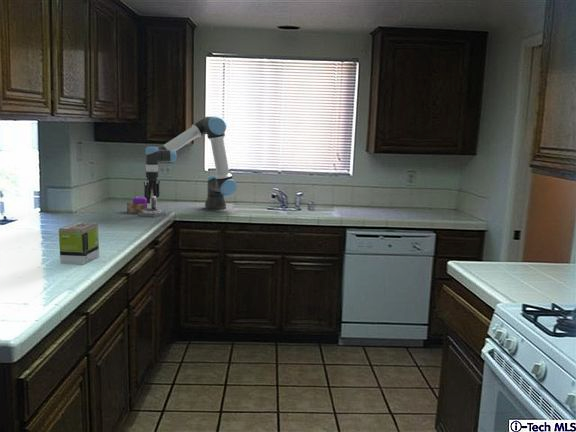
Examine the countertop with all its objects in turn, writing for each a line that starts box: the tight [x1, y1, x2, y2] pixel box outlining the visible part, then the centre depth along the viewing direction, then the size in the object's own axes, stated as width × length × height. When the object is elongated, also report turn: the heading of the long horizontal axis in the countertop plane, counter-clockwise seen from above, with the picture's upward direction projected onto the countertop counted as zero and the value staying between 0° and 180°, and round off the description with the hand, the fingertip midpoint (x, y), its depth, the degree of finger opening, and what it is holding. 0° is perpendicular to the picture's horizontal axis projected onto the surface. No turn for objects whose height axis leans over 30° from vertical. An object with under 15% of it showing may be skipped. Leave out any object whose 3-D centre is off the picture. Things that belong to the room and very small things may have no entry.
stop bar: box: [126, 202, 145, 214], centre depth 352 cm, size 13×2×6 cm, turn 67°
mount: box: [137, 208, 166, 218], centre depth 345 cm, size 12×12×4 cm
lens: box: [151, 195, 157, 209], centre depth 344 cm, size 5×5×8 cm
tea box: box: [58, 222, 100, 266], centre depth 223 cm, size 15×10×15 cm, turn 175°
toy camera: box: [132, 196, 148, 209], centre depth 359 cm, size 11×14×10 cm
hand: (152, 207), depth 345 cm, fingers closed on lens, 5 cm apart
